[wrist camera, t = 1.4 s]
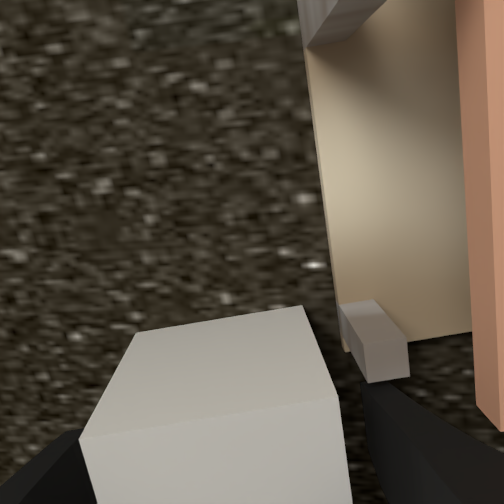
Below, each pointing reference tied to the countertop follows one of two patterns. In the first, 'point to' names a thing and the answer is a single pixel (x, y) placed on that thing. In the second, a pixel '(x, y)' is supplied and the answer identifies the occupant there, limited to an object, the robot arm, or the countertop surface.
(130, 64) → the countertop surface
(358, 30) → the frame
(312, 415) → the off-white sharp-edged cube
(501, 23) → the trapdoor
